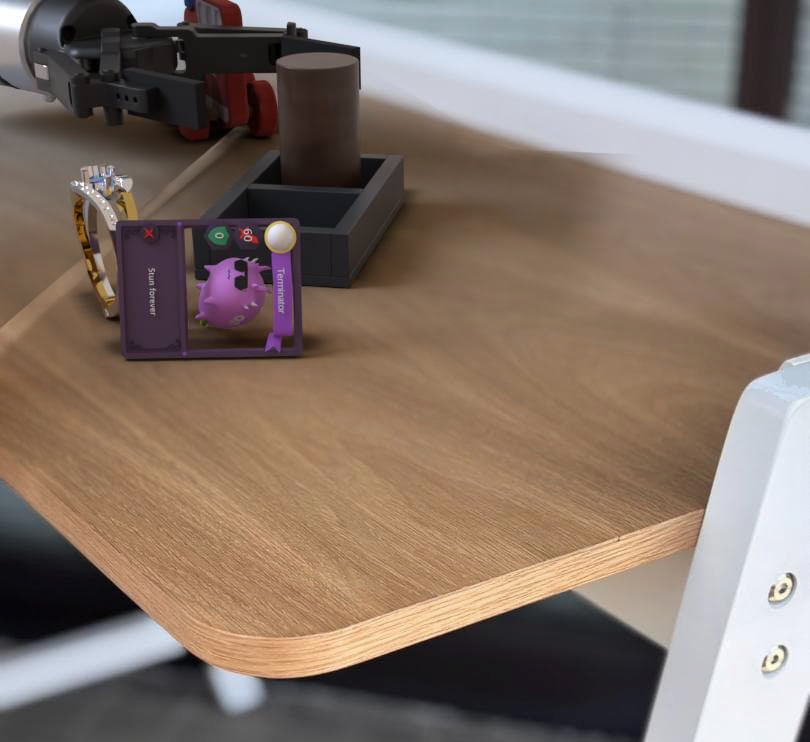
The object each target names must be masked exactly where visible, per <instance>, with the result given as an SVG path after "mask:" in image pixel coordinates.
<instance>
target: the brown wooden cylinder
mask: <svg viewBox="0 0 810 742" xmlns="http://www.w3.org/2000/svg"><path fill="white" fill-rule="evenodd" d="M275 74H276V91H277V93H276V94H277V106H278V136H279V137H278V138H279V139H278V140H279V150H280V162H281V184H282V185H292V186H314V187H335V188H357V189H361V156H360V154H361V113H360V111H361V109H360V105H361V104H360V90H359V61H358V59H357V58H356V57H353V56H350V55H346V54H339V53H324V52H316V53H300V54H293V55H288V56H285V57H282V58H279V59H278V60H277V61H276V73H275Z"/></svg>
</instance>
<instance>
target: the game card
mask: <svg viewBox="0 0 810 742" xmlns="http://www.w3.org/2000/svg"><path fill="white" fill-rule="evenodd" d="M230 227H237V228H236V230H235V232H234V233H233V231H232V230H231V228H230ZM259 227H268V228H267V229H266V231H265V236H264V235H263V233H262V231H261V230H260V228H259ZM192 228H208V229H207V230H206V232H205V234H204V238H205V240H206V241H207V243H208V245H209V246H210V248H211V249H212V250H228V249H229V247H230V245H231V243H232V241H233V239H235V241H236V243H237V244H238V246H239V248H240V249H241V250H252V249H257V248H258V246H259V244H260V242H261V240H262V238H263V236H264V238H265V243H266V245H267V247H268V248H269V249H270V250H271V252H272V271H273V283H272V286H273V289H272V290H273V292H272V291H271V289H269V288H268V287H266V286H265V283H264V282H263V279H262V277H261V275H260V273H259V272H261V271H263V270H271V268H270V267H268V266H258V265H259V263H256V264H255V262H256V260H258V258H256V259H254V260H252V261H248V259H249V257H247V258H245V259H239V258H229V259H226V260H224V261H222V262H220V263H219V264H217V265H214V266H211V265H205V266H204V268H205V269H207V270H208V271H209V272H210V276H209V278H208V280H206V282H200V283H196V284H195V287H196V288H197V289H199V290H200V293H199V297H198V304H197V305H198V310H199V313H198V314H197V315H195V316H194V319H195V320H198V321H199V325H200V326H201V327H205V328H208V326H212V327H215V328H218V329H225V330H226V329H234V328H238V327H241V326H244V325H246V324H247V323H249V322H251V321H253V319H254V318H255V317H256V316H258V314H259V313H260V311H261V310H262V308H263V306H264V305H265V301H266V294H272V293H273V294H272V295H273V303H272V304H273V305H272V306H273V307H272V308H273V313H272V315H273V317H272V318H273V323H272V325H273V326H272V327H273V332H269V334H268V336H267V340H266V345H265V347H249V348H247V347H245V348H192V349H191V347H190V337H189V314H188V313H189V312H188V311H189V310H188V289H187V288H188V286H187V285H188V284H187V263H186V236H185V230H186V229H192ZM116 247H117V269H118V290H119V312H120V316H119V329H120V330H119V331H120V332H119V333H120V352H121V356H122V358H124V359H126V360H127V359H177V358H179V359H181V358H182V359H184V358H187V359H188V358H232V357H233V358H234V357H236V358H237V357H238V358H239V357H242V358H244V357H295V356H301V355H302V354H303V352H304V340H303V339H304V337H303V336H304V334H303V333H304V331H303V299H302V298H303V295H302V285H301V255H300V223H299V220H298V219H296V218H250V219H200V218H195V219H194V218H192V219H191V218H190V219H189V218H187V219H185V218H184V219H183V218H182V219H138V220H123V219H122V220H118V221H117V222H116ZM291 249H292V273H291V257H290V250H291ZM292 278H293V285H292ZM292 335H293V344H294V345H293V347H282V339H283V337H291V336H292Z"/></svg>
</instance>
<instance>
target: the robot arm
mask: <svg viewBox="0 0 810 742" xmlns="http://www.w3.org/2000/svg"><path fill="white" fill-rule="evenodd" d="M316 52H324V53H339V54H346V55H350V56H353V57H356V58H357V59H358V61H359V91H361V90H362V69H361V67H362V65H361V61H362V60H361V58H362V57H361V46H356V45H350V44H344V43H338V42H333V41H326V40H321V39H316V38H315V39H314V38H310V37H309V30H308V29H307V28H304V27H297V23H296V22H294V21H287V23H286V27H271V26H270V27H268V26H267V27H266V26H244V25H243V26H224V25H206V24H198V23H190V22H188V21H184V20H183V21H180V22H178V23H176V25H159V24H157V23H156V22H151V21H150V22H149V21H148V22H147V21H146V22H138V20H137V18H135V15H134V14H133V13H132V11H131V10H130V9H129V7H127V6H126V4H124V3H123V2H122V1H121V0H0V86H1V87H2V86H3V87H8V88H12V89H15V90H20V91H26V92H31V93H35V94H39V95H42V99H43V101H44V102H46V103H53V102H55V101H56V100H58V101H59V103H60V104H62V105H63V107H64V108H65V109H66V110H67V111H68V112H69V113H70V114H71V115H72V116H73V117H74V118H78V119H88V118H89V117H93V116H94V108H95V109H96V108H102V112H103V113H102V114H103V121H104V125H105V126H107V127H119V126H123V125H125V118H124V110H126V112H127V115H128V116H134V117H138V118H142V119H147V120H151V121H156V122H160V123H163V124H164V123H165V124H168V125H173V126H176V127H179V126H181V127H186V128H190V129H194V130H203V129H207V128H208V118H207V104H206V89H205V82H203V81H198V80H195V79H196V77H197V76H198V74H201V73H253V74H277V73H276V61H277V60H278V59H279V58H282V57H285V56H288V55H293V54H300V53H316ZM178 60H179V61H183V62H184V61H185V64H186V69H178V66H179V61H178Z"/></svg>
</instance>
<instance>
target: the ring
mask: <svg viewBox="0 0 810 742" xmlns="http://www.w3.org/2000/svg"><path fill="white" fill-rule="evenodd" d="M115 170H116V167H115V166H114V165H110V164H109V165H107V164H106V163H104V164H99V165H98V164H95V165H94V164H93V165H89V166H88V165H83V166H82V167H79V171H80V176H81V181H80V180H78V179H74V180H72V181H70V182H67V183H66V185H67V186H68V187H69V189H68V192H67V200H68V206H69V211H70V215H71V219H72V224H73V228H74V231H75V234H76V239H77V243H78V246H79V249H80V252H81V256H82V259H83V263H84V266H85V268H86V272H87V274H88V277H89V281H90V283H91V285H92V288H93V290H94V291H93V292H94V293H95V296H96V298H97V300H98V302H99V303H100V306H101V308H102V311H103V315H104V316H105V318H106V319H109V318H116V317H120V312H119V290H118V269H117V247H116V222H117V221H119V220H118V217H117V214H116V213H115V211H114V209H113V207H112V206H111V204H110V203H109V201H114V200H116V203H115V205H116V206H117V208H118V210H119V213H120V215H121V218H122V220H139V217H138V211H137V206H136V202H135V198H134V196H133V194H132V191H131V190H132V188H133V184H134V183H133V182H134V181H133V179H132V178H131V177H130V175H127V174H116V172H115ZM116 186H118V187H119V188H118V189H117V190H116ZM84 203H85V205H84ZM98 214H99V215H100V216H101V218H102V220H103V222H104V224H105V226H106V228H107V231H108V234H109V237H110V240H111V245H112V249H113V254H114V259H115V269H116V292H114V291H113V288H112V286H111V284H110V281H109V277H108V275H107V272H106V269H105V265H104V261H103V258H102V257H103V256H102V252H101V247H100V242H99V241H100V240H99V234H98V233H99V232H98ZM84 216H85V218H84Z"/></svg>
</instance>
